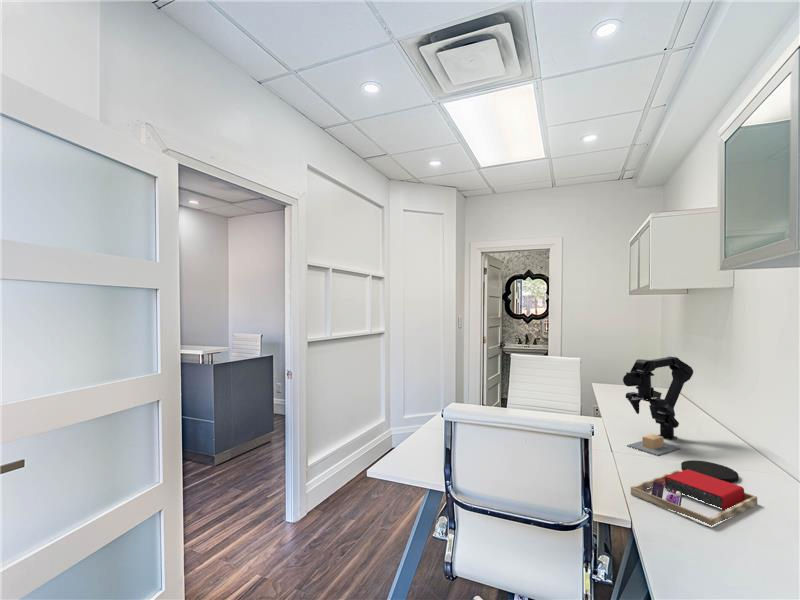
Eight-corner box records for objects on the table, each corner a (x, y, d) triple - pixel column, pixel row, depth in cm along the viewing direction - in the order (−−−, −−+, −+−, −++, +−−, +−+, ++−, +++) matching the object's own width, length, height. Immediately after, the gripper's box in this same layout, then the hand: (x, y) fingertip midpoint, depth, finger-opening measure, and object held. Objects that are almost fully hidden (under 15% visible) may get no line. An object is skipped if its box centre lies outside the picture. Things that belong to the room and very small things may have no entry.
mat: (649, 440, 193) (649, 438, 193) (680, 448, 180) (680, 447, 180) (627, 446, 185) (626, 445, 185) (657, 456, 172) (657, 454, 172)
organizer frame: (677, 476, 151) (677, 470, 151) (757, 504, 129) (757, 496, 130) (630, 494, 138) (630, 487, 138) (711, 528, 116) (711, 520, 116)
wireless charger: (742, 474, 153) (741, 469, 153) (734, 488, 141) (733, 483, 141) (687, 461, 167) (687, 457, 167) (676, 473, 155) (675, 468, 155)
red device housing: (665, 490, 141) (664, 476, 141) (686, 481, 148) (686, 468, 148) (723, 512, 125) (723, 497, 125) (744, 502, 132) (744, 487, 132)
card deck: (642, 446, 183) (642, 436, 183) (652, 443, 187) (652, 433, 187) (653, 449, 179) (653, 439, 179) (663, 446, 182) (663, 436, 182)
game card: (652, 480, 134) (680, 491, 125) (661, 482, 136) (689, 493, 128) (649, 500, 132) (677, 513, 124) (657, 502, 135) (686, 514, 126)
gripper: (674, 387, 187) (675, 419, 187) (641, 380, 205) (642, 410, 205) (655, 389, 184) (657, 421, 184) (624, 382, 202) (625, 412, 202)
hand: (645, 416), depth 194 cm, fingers open, 9 cm apart
